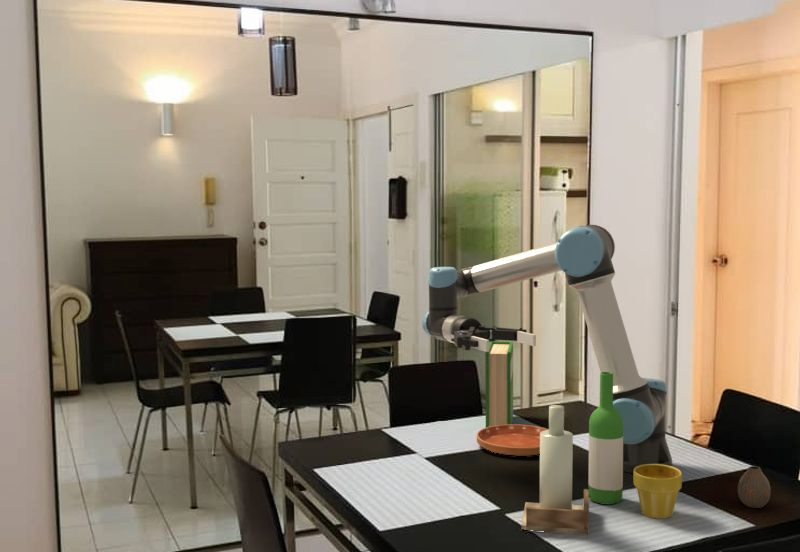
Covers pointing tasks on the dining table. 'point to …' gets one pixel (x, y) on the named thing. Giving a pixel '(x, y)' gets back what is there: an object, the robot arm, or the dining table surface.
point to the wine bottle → (606, 447)
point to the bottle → (556, 462)
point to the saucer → (511, 439)
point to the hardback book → (499, 383)
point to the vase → (754, 488)
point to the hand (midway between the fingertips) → (511, 343)
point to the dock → (557, 518)
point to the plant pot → (657, 489)
